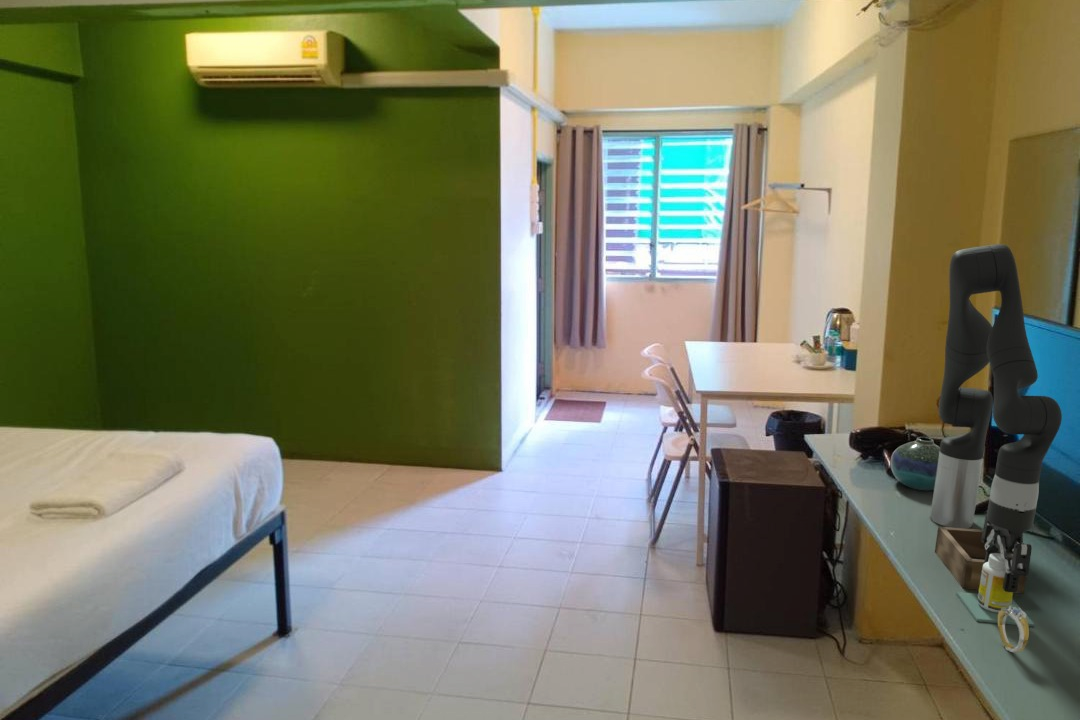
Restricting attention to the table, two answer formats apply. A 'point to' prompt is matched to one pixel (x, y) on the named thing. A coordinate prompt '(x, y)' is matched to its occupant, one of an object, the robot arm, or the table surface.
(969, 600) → the mat
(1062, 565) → the table surface
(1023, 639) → the ring
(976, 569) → the box
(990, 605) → the supplement bottle
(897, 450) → the vase
